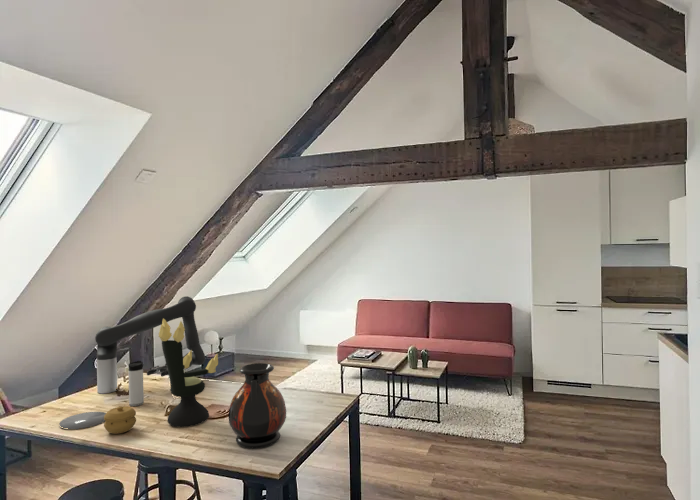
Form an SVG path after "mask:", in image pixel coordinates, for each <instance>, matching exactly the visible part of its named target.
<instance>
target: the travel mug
mask: <svg viewBox="0 0 700 500" xmlns="http://www.w3.org/2000/svg"><path fill="white" fill-rule="evenodd" d="M143 363H144V362H143V361H142V360H136V361H133V362H130V363H128V369H127V371H128V403H129V405H128V406H129V407H138V406H142V405H143V404H144V403H145V402H144V401H145V400H144V397H145V396H144V394H145V393H144V368H143V367H144V366H143V365H144V364H143Z"/></svg>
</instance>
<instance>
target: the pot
mask: <svg viewBox="0 0 700 500" xmlns="http://www.w3.org/2000/svg"><path fill="white" fill-rule="evenodd" d="M105 413H106V414H105V416H104V420H105V421H104V422H103V423H104V424H103V427H104V428H105V430H106V431H107V432H108V433H110V434H113V435H114V434H115V435H117V434H123V433H126V432H128V431H130V430H131V429H132V428H133V427H134V426H135V424H136V423H137V417H136V415H137V412H136V410H135V408H133V407H132V406H129V405H128V406H125V405H124V406H118V407H113V408H111V409H109V410H108V411H107V412H105Z"/></svg>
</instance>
